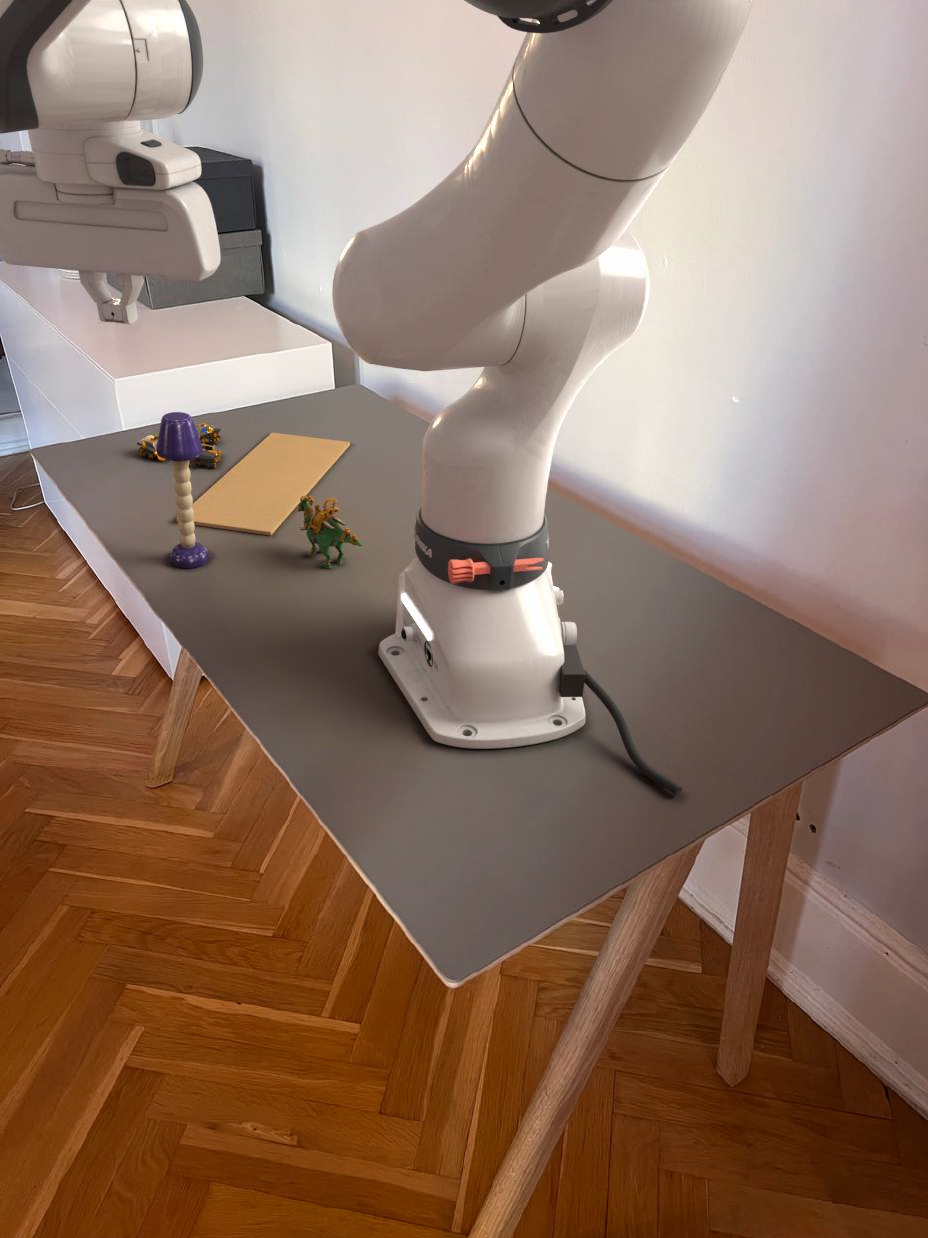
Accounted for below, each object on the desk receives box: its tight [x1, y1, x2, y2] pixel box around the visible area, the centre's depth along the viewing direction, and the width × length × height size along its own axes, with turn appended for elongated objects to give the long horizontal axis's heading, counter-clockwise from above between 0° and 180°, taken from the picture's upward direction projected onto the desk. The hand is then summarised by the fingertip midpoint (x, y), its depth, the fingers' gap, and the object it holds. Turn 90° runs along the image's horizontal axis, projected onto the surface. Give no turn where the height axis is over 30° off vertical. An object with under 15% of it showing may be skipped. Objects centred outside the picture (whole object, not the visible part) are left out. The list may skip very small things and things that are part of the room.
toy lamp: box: [156, 411, 210, 569], centre depth 97 cm, size 5×5×17 cm
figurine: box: [297, 495, 363, 569], centre depth 100 cm, size 3×12×8 cm, turn 42°
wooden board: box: [175, 432, 351, 536], centre depth 121 cm, size 30×12×1 cm, turn 168°
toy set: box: [136, 422, 222, 469], centre depth 126 cm, size 12×11×5 cm
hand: (119, 321), depth 84 cm, fingers closed
